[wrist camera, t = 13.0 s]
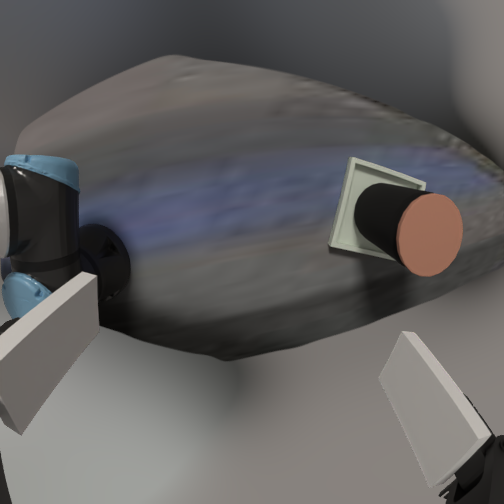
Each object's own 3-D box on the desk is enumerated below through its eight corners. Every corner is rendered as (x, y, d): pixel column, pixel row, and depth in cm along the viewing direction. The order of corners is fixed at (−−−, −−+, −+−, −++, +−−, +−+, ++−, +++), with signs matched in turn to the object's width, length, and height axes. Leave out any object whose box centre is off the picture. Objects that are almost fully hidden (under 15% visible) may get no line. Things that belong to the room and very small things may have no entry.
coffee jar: (394, 246, 49) (448, 283, 32) (344, 233, 49) (387, 269, 32) (409, 191, 46) (471, 207, 29) (359, 174, 46) (412, 182, 29)
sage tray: (328, 243, 50) (330, 246, 48) (348, 157, 45) (352, 156, 44) (400, 259, 51) (404, 262, 49) (421, 182, 46) (426, 182, 44)
